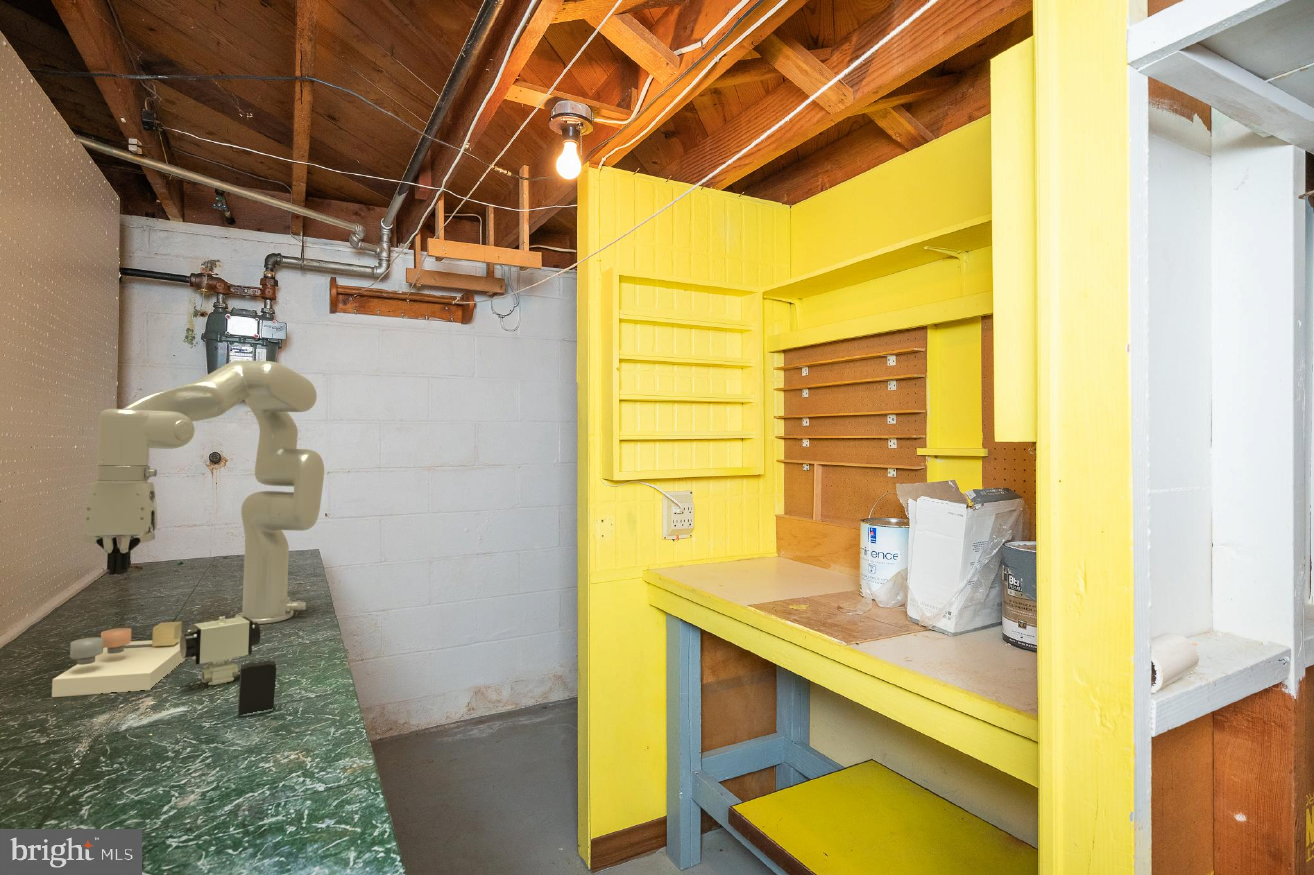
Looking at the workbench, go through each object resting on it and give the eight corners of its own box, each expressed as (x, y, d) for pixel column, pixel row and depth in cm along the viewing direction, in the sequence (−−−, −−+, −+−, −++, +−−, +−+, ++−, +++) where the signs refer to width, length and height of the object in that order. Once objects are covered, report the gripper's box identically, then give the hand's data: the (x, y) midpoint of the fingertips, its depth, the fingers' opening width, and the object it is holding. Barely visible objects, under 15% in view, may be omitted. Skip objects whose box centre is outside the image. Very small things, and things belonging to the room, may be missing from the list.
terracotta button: (134, 647, 127) (135, 627, 127) (124, 654, 123) (125, 633, 123) (107, 648, 125) (107, 628, 125) (95, 656, 121) (96, 635, 121)
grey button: (107, 657, 120) (108, 636, 120) (95, 665, 116) (96, 643, 116) (77, 659, 119) (78, 638, 119) (64, 667, 115) (65, 645, 115)
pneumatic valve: (259, 678, 125) (261, 613, 125) (184, 694, 116) (187, 624, 116) (249, 670, 128) (251, 608, 129) (176, 685, 120) (179, 618, 120)
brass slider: (181, 639, 136) (181, 621, 136) (173, 645, 132) (174, 626, 132) (160, 640, 135) (161, 622, 135) (152, 646, 131) (152, 628, 131)
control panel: (193, 652, 138) (194, 637, 138) (149, 690, 117) (150, 672, 117) (112, 657, 134) (113, 642, 134) (51, 697, 113) (52, 679, 113)
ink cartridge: (272, 707, 111) (275, 659, 112) (273, 712, 109) (276, 663, 110) (237, 712, 109) (240, 663, 109) (238, 717, 107) (241, 667, 107)
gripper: (177, 474, 130) (173, 568, 130) (84, 473, 126) (79, 571, 125) (162, 476, 123) (157, 576, 123) (62, 475, 119) (58, 578, 118)
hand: (118, 573), depth 124 cm, fingers closed
